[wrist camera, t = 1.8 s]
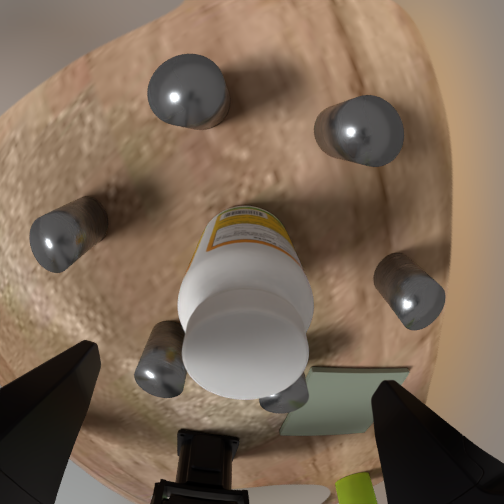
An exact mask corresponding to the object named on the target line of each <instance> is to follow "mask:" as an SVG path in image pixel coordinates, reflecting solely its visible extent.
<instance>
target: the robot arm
mask: <svg viewBox="0 0 504 504" xmlns="http://www.w3.org/2000/svg"><path fill="white" fill-rule="evenodd" d="M100 368H101V360H100V355H99V350H98V345H97V344H96V343H94V342H91V341H88V340H83V341H81V342H80V343H78V344H76V345H74V346H73V347H71V348H69V349H67V350H66V351H64V352H62V353H60V354H59V355H57V356H55V357H53V358H52V359H50V360H48V361H46V362H45V363H43V364H41V365H40V366H38V367H36V368H34V369H33V370H31V371H29V372H27V373H26V374H24V375H22V376H21V377H19V378H17V379H15V380H14V381H12V382H10V383H9V384H7V385H5V386H3V387H2V388H0V504H54V503H55V500H56V496H57V493H58V489H59V487H60V484H61V480H62V477H63V474H64V471H65V469H66V466H67V463H68V459H69V457H70V454H71V452H72V449H73V446H74V444H75V441H76V438H77V436H78V433H79V431H80V428H81V426H82V423H83V421H84V418H85V416H86V413H87V411H88V408H89V405H90V401H91V398H92V394H93V391H94V388H95V384H96V381H97V378H98V375H99V371H100ZM371 406H372V414H373V422H374V431H375V438H376V444H377V448H378V453H379V458H380V463H381V468H382V473H383V478H384V483H385V489H386V495H387V501H388V504H504V463H502V462H501V461H499V460H498V459H496V458H494V457H493V456H491V455H490V454H488V453H487V452H485V451H483V450H482V449H481V448H479V447H478V446H476V445H475V444H474V443H473V442H471V441H470V440H468V439H467V438H466V437H465V436H463V435H462V434H461V433H460V432H458V431H457V430H456V429H455V428H454V427H452V426H451V425H450V424H448V423H447V422H446V421H445V420H443V419H442V418H441V417H440V416H438V415H437V414H436V413H435V412H433V411H432V410H431V409H430V408H428V407H427V406H426V405H425V404H423V403H422V402H421V401H420V400H419V399H417V398H416V397H415V396H414V395H412V394H411V393H410V392H409V391H407V390H406V389H405V388H404V387H402V386H401V385H400V384H399V383H397V382H396V381H395V380H383V381H382V382H381V383H380V385H379V386H378V388H377V389H376V391H375V392H374V394H373V395H372V398H371ZM239 442H240V440H239V438H236V437H227V436H218V435H211V434H204V433H197V432H191V431H185V430H179V431H178V434H177V453H178V456H179V462H178V469H177V475H176V482H170V481H166V480H164V479H161V480H160V482H158V483H155V487H154V492H153V496H152V500H151V503H150V504H249V496H248V490H231V484H232V461H233V459H234V456H235V453H236V451H237V448H238V446H239ZM167 497H170V498H169V499H167Z"/></svg>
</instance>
